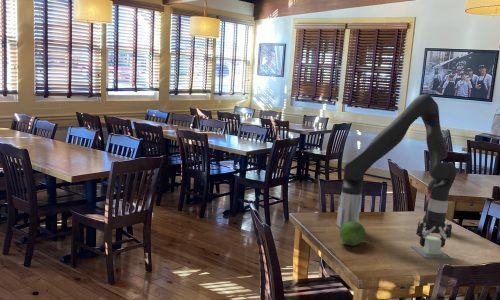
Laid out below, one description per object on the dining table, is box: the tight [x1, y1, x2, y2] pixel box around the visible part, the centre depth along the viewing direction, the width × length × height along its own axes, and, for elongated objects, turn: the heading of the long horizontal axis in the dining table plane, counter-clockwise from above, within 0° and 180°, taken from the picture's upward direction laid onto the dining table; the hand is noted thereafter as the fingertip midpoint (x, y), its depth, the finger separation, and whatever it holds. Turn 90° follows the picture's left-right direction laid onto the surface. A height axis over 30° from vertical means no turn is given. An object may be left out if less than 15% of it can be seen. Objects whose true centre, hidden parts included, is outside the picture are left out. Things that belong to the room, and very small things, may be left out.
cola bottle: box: [422, 178, 442, 228], centre depth 238 cm, size 8×8×30 cm
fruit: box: [339, 221, 366, 247], centre depth 207 cm, size 15×10×10 cm, turn 140°
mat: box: [411, 246, 452, 260], centre depth 204 cm, size 12×12×1 cm
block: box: [423, 235, 442, 254], centre depth 203 cm, size 5×5×6 cm
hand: (431, 246), depth 203 cm, fingers open, 8 cm apart
